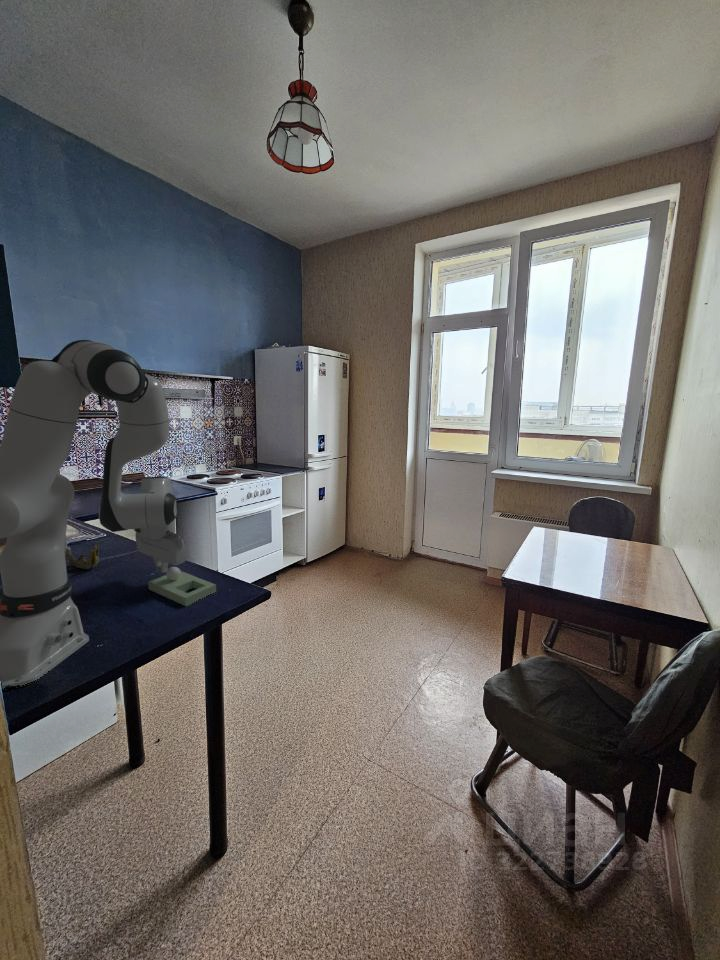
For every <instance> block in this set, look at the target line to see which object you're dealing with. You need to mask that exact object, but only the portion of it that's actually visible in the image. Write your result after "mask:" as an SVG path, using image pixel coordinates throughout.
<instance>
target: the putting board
mask: <svg viewBox="0 0 720 960" xmlns="http://www.w3.org/2000/svg"><path fill="white" fill-rule="evenodd" d="M180 571H181V574H180V577H179V578H178V579H176V580H169V579H168V578H167V577H166V574H165V575H161V576H160V577H157V578H154V579H151V580H148V582H147V583H148V584H147V585H148V590H150V591H151V592H154V593H156V594H158V595H160V596H162V597H164V598H167V599H169V600H171V601H173V602H175V603H178V604H181V605H182V606H184V607H189V606H190V605H192V603H193V604H195V603H196V601H197V602H198V600H199V599H201V600H203V599H205V598H207V597H206V596H208V595H210V594H212V595H214V594H216V593H217V584H215V583H213V582H210V581H208V580H205V579H202V578H199V577H197V576H195V575H193V574H191V573H187V572H184V571H182V570H180ZM195 588H196V589H195ZM189 589H190V590H191V589H194V590H192V591H190V590H189ZM187 591H190V592H187ZM215 592H216V593H215ZM213 593H214V594H213ZM210 596H211V595H210ZM204 597H205V598H204ZM208 597H209V596H208ZM202 598H203V599H202ZM199 601H200V600H199ZM194 602H195V603H194Z"/></svg>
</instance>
